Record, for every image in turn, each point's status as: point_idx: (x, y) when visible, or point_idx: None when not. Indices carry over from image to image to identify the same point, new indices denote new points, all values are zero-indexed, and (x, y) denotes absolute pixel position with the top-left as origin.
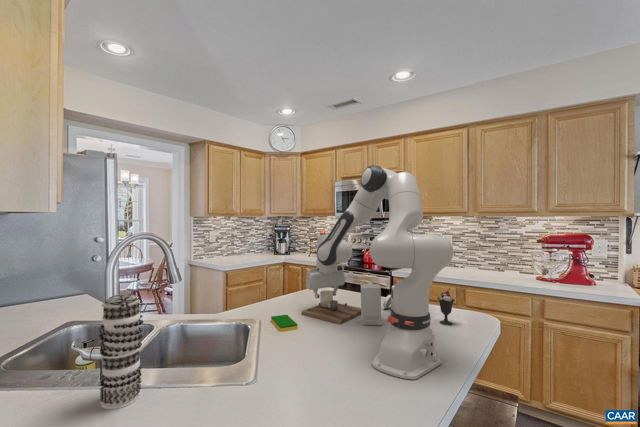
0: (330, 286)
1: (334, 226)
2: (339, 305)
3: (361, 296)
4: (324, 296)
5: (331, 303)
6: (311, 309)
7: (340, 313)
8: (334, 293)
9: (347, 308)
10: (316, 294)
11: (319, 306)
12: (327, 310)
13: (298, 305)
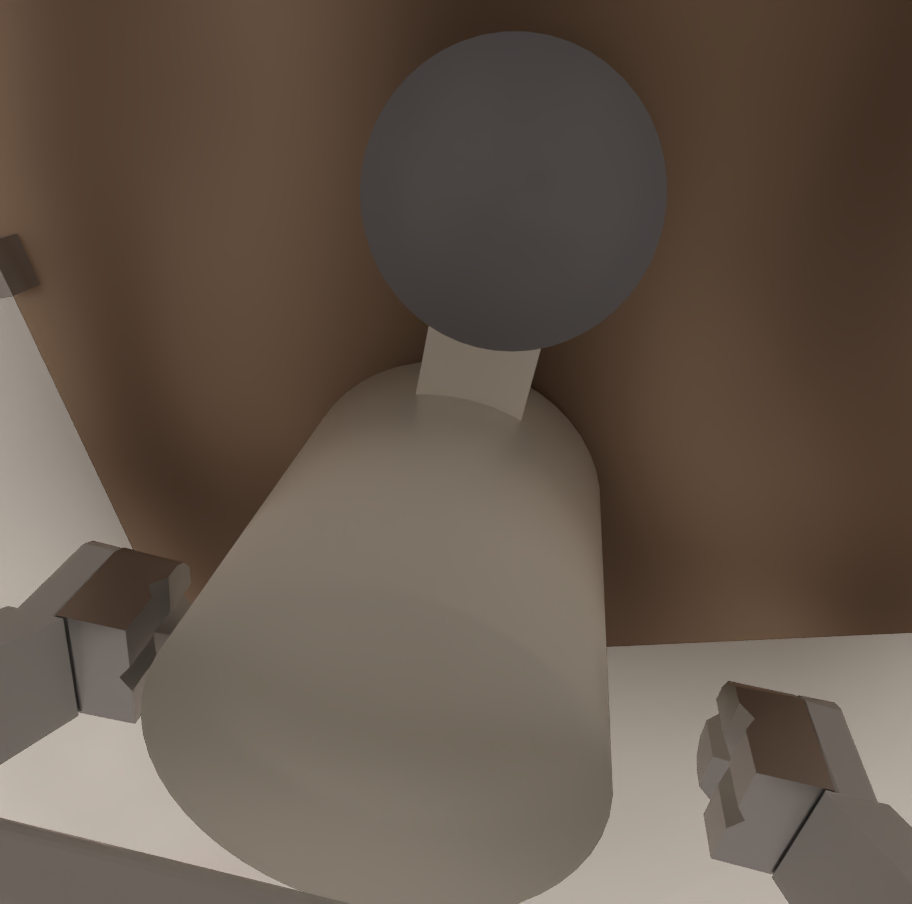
0: (194, 890)
1: None
2: (161, 349)
3: None
4: (589, 628)
5: (659, 182)
6: (865, 568)
7: None
8: (118, 592)
9: (129, 4)
10: (902, 825)
11: None
12: (675, 263)
13: (643, 877)
